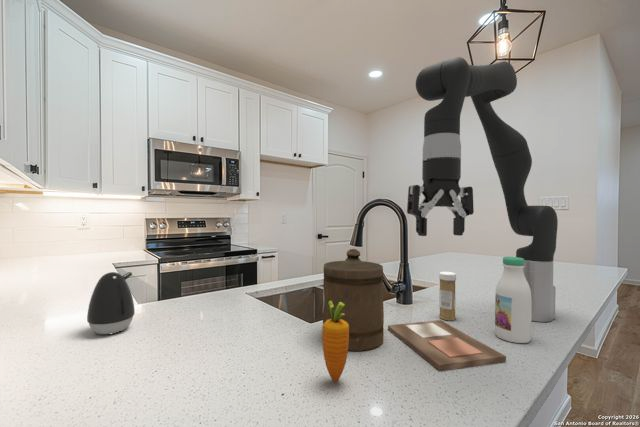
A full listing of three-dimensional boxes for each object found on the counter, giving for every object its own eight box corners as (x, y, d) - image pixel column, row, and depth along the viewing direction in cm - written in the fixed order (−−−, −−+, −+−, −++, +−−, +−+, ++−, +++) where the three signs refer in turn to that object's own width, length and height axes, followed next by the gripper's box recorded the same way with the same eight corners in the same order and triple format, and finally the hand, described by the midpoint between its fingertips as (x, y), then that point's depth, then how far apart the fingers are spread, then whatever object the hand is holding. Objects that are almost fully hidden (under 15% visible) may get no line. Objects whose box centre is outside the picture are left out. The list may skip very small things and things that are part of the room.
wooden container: (349, 323, 88) (349, 244, 88) (395, 338, 77) (396, 249, 77) (310, 338, 77) (310, 249, 77) (357, 358, 67) (358, 255, 67)
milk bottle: (525, 334, 81) (526, 256, 80) (535, 346, 73) (536, 260, 73) (492, 330, 83) (493, 254, 83) (498, 341, 76) (499, 259, 76)
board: (440, 324, 87) (440, 319, 87) (505, 361, 66) (506, 354, 66) (387, 329, 83) (387, 324, 83) (439, 371, 62) (439, 363, 62)
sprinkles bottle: (458, 319, 91) (459, 273, 91) (449, 322, 89) (449, 274, 89) (445, 314, 95) (445, 270, 95) (435, 317, 93) (436, 272, 93)
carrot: (320, 375, 60) (321, 297, 60) (346, 374, 60) (347, 296, 60) (323, 390, 55) (323, 305, 55) (351, 389, 55) (351, 304, 55)
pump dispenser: (144, 327, 84) (144, 270, 84) (103, 342, 74) (103, 277, 74) (119, 321, 88) (119, 267, 88) (78, 334, 79) (78, 274, 78)
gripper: (458, 162, 71) (457, 234, 71) (401, 159, 68) (400, 234, 68) (483, 157, 64) (482, 236, 64) (420, 153, 61) (419, 237, 61)
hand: (440, 235), depth 66 cm, fingers open, 8 cm apart
